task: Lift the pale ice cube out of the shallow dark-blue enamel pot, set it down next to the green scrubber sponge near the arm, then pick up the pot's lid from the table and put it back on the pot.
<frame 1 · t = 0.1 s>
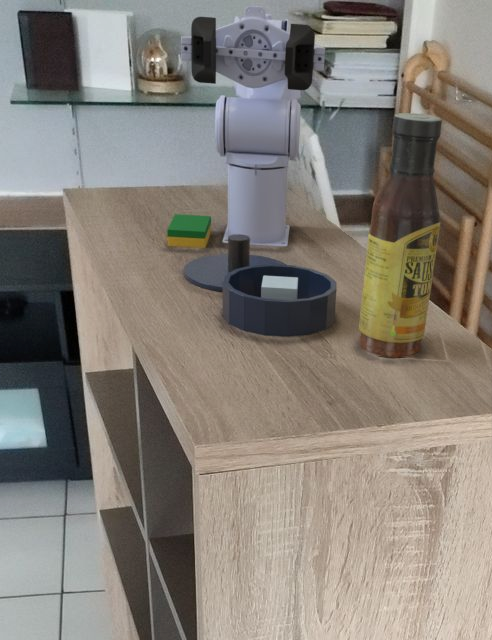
hand: (248, 56, 84), 22 cm above the table, tool horizontal, fingers open, 7 cm apart
scrubber: (190, 243, 110), on the table
ice cube: (278, 317, 91), resting on pot
pot: (278, 321, 91), on the table
sauce bottle: (389, 351, 86), on the table
lid: (238, 274, 100), point 1 cm above the table
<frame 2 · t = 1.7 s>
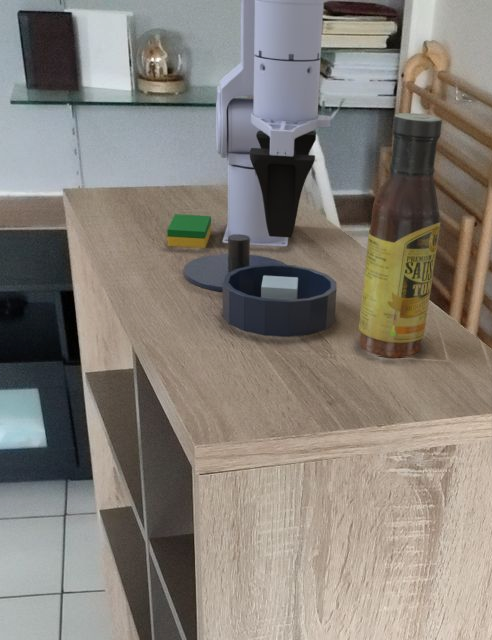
hand: (281, 224, 85), 9 cm above the table, tool pointing down, fingers open, 7 cm apart
nothing on the table moved.
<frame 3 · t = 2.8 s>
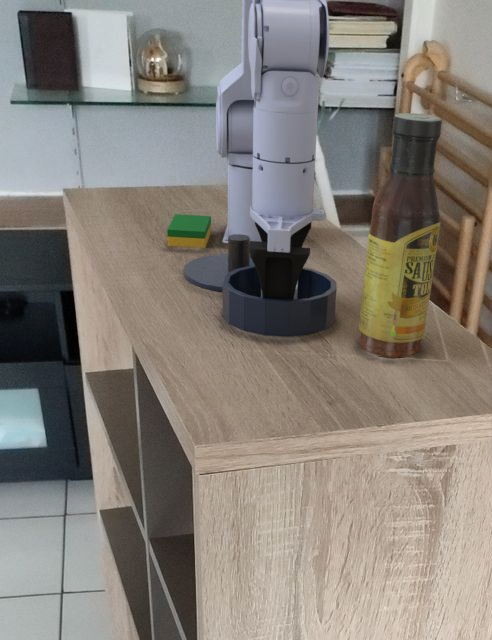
hand: (279, 306, 90), 2 cm above the table, tool pointing down, fingers open, 7 cm apart
nothing on the table moved.
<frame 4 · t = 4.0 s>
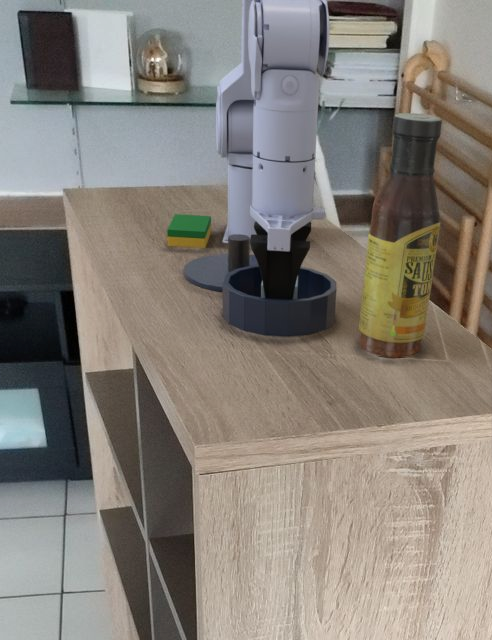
hand: (279, 305, 90), 2 cm above the table, tool pointing down, fingers closed on ice cube, 3 cm apart
ice cube: (278, 315, 91), point 1 cm above the table, touching gripper
everything else where it was.
when the fingers open (1 cm above the table, at t = 8.7 s): ice cube stays where it is, on the table.
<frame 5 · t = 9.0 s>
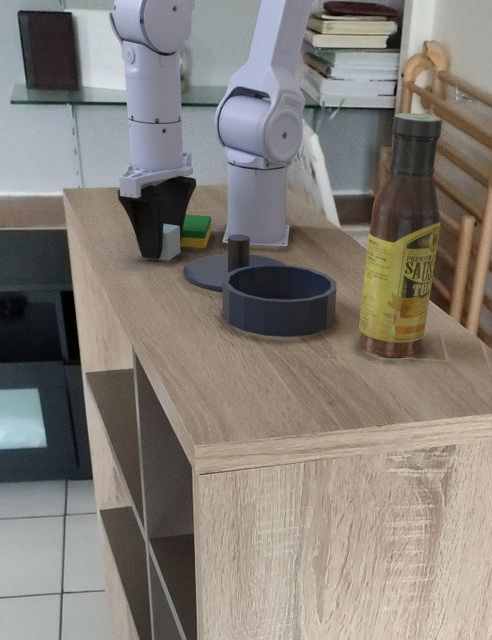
hand: (161, 250, 104), 1 cm above the table, tool pointing down, fingers open, 5 cm apart
ice cube: (161, 259, 105), on the table
everything else where it was.
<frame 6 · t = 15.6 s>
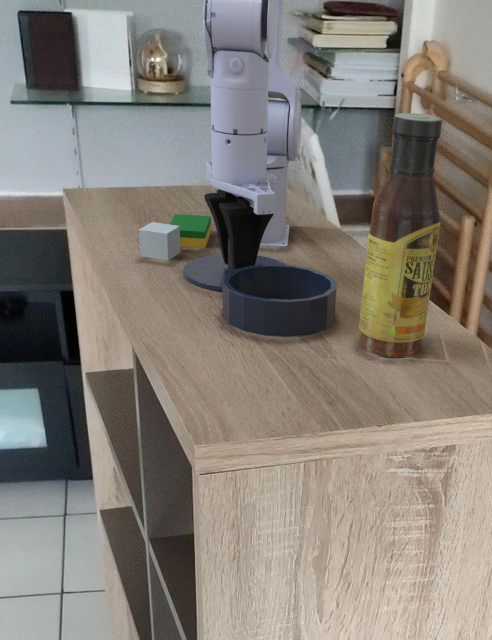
hand: (238, 267, 99), 1 cm above the table, tool pointing down, fingers closed on lid, 2 cm apart
lid: (238, 274, 100), point 1 cm above the table, touching gripper
everything else where it was.
when the fingers open (5 cm above the table, at t = 19.7 s): lid stays where it is, point 4 cm above the table.
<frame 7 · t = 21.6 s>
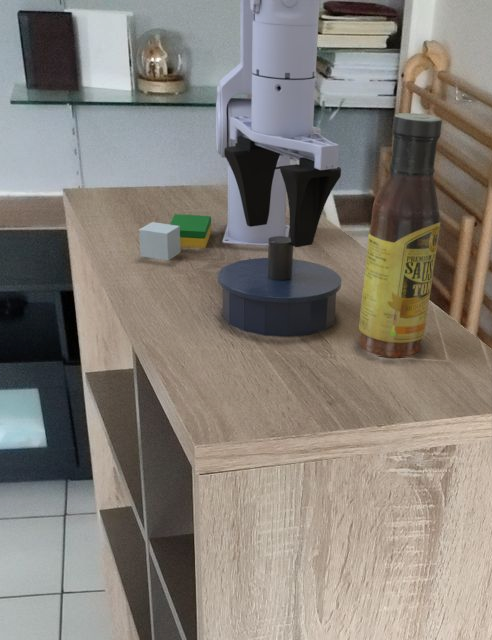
hand: (278, 234, 88), 8 cm above the table, tool pointing down, fingers open, 7 cm apart
lid: (279, 281, 88), point 4 cm above the table, touching gripper
everything else where it was.
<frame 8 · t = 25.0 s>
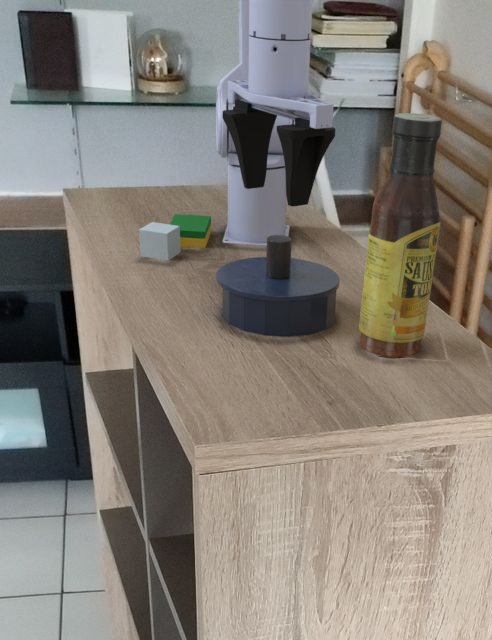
hand: (275, 196, 91), 10 cm above the table, tool pointing down, fingers open, 7 cm apart
lid: (278, 280, 89), point 4 cm above the table, touching pot
everything else where it was.
at the end: ice cube inside the target area on the table beside the scrubber (1.1 cm from its centre), on the table; lid 0.4 cm off-centre on the pot, point 3.9 cm above the pot's base; lid tilted 0° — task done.
